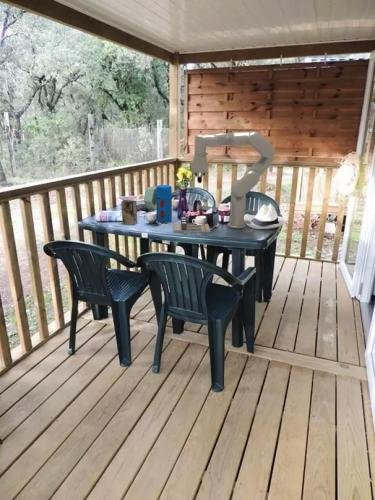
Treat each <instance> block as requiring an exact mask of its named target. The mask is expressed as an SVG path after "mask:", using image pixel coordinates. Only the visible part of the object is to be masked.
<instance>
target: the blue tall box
mask: <svg viewBox="0 0 375 500" xmlns="http://www.w3.org/2000/svg"><path fill="white" fill-rule="evenodd" d="M172 190H173V189H172V185H169V184H159V185H156V205H157V210H156V222H157V223H159V224H168V223H171V222H172V219H173V205H172V204H173V197H172V196H173V193H172V192H173V191H172Z"/></svg>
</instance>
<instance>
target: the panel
mask: <svg viewBox="0 0 375 500" xmlns="http://www.w3.org/2000/svg"><path fill="white" fill-rule="evenodd" d="M186 223H187V222H186ZM195 223H196V222H193V223H191V222H189V223H187V229H182V227H181V222H179V223H175V222H174V223H172V229H173V233H177V234H178V233H179V234H181V233H183V234H184V233H187V234H188V233H196V234H197V233H211V228H210V225H209V224H208V223H207V222H206V223H207V224H205V225H197V224H195Z"/></svg>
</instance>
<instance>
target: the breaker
mask: <svg viewBox="0 0 375 500" xmlns="http://www.w3.org/2000/svg"><path fill="white" fill-rule="evenodd" d="M182 229H187V221H186V222H182Z"/></svg>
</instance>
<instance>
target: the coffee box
mask: <svg viewBox="0 0 375 500" xmlns="http://www.w3.org/2000/svg"><path fill="white" fill-rule="evenodd" d="M120 204H121V215H122V217H121V218H122V225H129V226H130V225H131V226H135V225H137V224H138V212H137V211H138V209H137V208H138V207H137V200H132V199H124V200H122V201H121V202H120Z"/></svg>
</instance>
